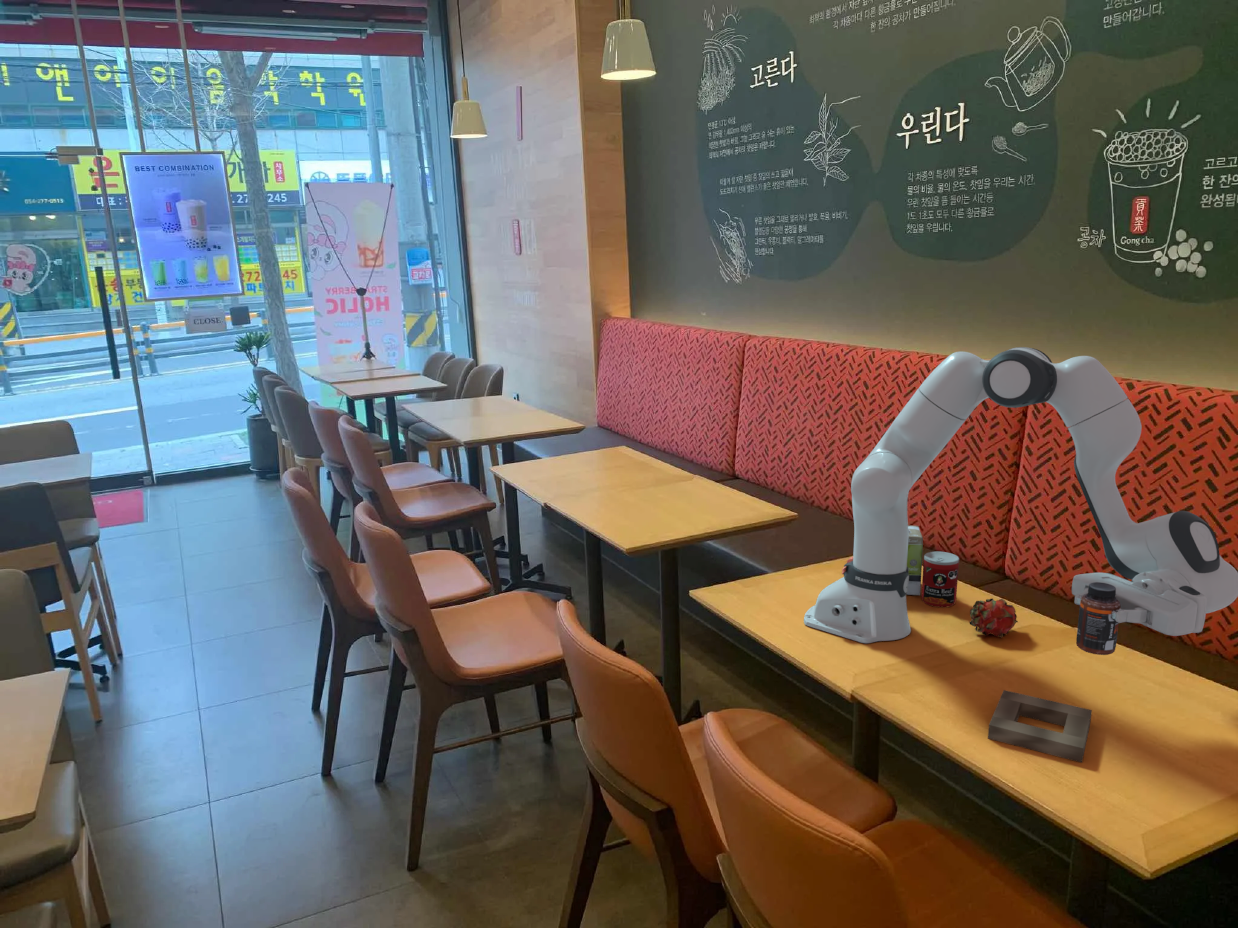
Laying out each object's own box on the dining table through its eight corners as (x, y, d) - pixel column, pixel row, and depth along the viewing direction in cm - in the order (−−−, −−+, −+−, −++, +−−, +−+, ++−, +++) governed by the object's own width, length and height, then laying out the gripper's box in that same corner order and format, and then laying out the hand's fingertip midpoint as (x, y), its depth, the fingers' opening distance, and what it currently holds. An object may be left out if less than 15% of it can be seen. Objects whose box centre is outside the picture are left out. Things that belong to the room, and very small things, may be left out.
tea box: (916, 582, 216) (920, 524, 212) (920, 597, 206) (924, 537, 203) (853, 578, 219) (856, 521, 216) (854, 592, 209) (857, 533, 206)
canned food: (920, 605, 201) (923, 560, 199) (921, 593, 208) (924, 549, 206) (955, 609, 198) (959, 564, 196) (956, 597, 205) (959, 553, 203)
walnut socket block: (987, 738, 146) (988, 724, 145) (1002, 702, 157) (1003, 689, 156) (1081, 762, 138) (1083, 748, 138) (1090, 723, 150) (1091, 709, 149)
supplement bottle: (1120, 657, 144) (1128, 593, 142) (1081, 655, 146) (1088, 591, 143) (1108, 642, 150) (1116, 580, 147) (1071, 639, 151) (1077, 578, 149)
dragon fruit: (965, 644, 184) (1006, 641, 189) (995, 634, 177) (1037, 631, 182) (953, 604, 188) (994, 603, 193) (982, 593, 181) (1024, 592, 186)
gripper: (1108, 560, 159) (1048, 570, 155) (1216, 599, 140) (1151, 612, 136) (1104, 592, 160) (1045, 604, 156) (1211, 636, 142) (1147, 650, 137)
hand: (1095, 608), depth 146 cm, fingers closed on supplement bottle, 6 cm apart
